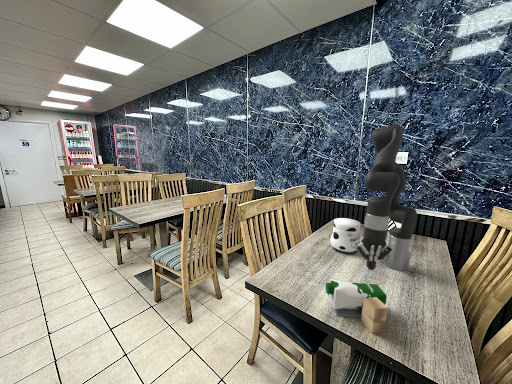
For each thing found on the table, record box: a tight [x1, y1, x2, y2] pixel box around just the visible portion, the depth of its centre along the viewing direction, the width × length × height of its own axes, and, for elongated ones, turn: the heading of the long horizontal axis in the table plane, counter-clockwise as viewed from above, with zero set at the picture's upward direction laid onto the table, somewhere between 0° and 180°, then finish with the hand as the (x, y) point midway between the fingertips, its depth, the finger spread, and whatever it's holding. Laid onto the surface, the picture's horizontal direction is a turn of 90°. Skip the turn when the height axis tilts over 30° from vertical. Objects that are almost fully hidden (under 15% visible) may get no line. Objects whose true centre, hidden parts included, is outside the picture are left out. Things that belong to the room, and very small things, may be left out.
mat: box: [325, 287, 362, 318], centre depth 79 cm, size 16×15×1 cm
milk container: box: [330, 217, 362, 254], centre depth 125 cm, size 17×17×18 cm
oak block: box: [360, 297, 389, 334], centre depth 68 cm, size 5×5×9 cm
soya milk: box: [325, 278, 387, 311], centre depth 76 cm, size 9×9×20 cm
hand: (370, 268), depth 76 cm, fingers closed
